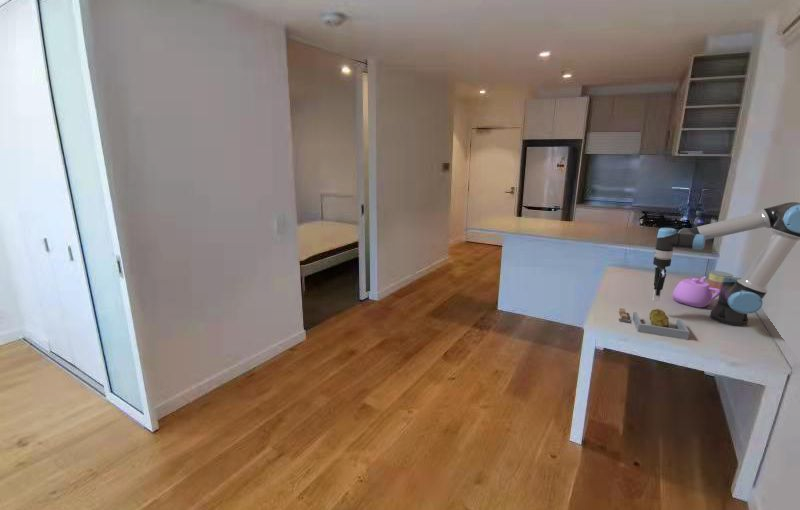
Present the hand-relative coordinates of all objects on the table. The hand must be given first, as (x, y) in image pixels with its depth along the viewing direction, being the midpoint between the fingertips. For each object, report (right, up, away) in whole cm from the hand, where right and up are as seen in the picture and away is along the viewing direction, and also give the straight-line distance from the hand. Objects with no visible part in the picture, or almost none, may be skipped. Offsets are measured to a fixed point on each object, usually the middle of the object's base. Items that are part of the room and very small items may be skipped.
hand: (655, 300), depth 200 cm
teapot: (+34, -4, +20) cm, 40 cm away
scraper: (-18, -9, -1) cm, 20 cm away
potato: (-7, -12, -11) cm, 18 cm away
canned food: (+65, +1, +39) cm, 76 cm away
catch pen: (-8, -12, -13) cm, 20 cm away
